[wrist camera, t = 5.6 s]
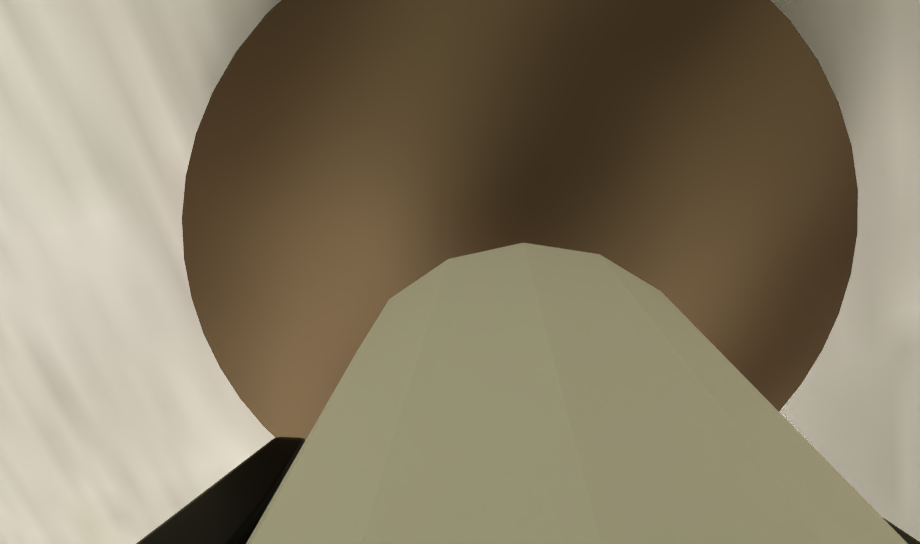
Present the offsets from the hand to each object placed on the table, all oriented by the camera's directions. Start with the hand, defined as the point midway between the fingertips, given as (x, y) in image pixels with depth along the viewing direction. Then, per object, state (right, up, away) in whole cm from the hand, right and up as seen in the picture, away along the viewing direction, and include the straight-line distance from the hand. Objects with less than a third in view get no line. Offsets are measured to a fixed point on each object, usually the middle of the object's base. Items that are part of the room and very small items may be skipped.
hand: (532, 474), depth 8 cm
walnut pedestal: (0, +4, +8) cm, 9 cm away
